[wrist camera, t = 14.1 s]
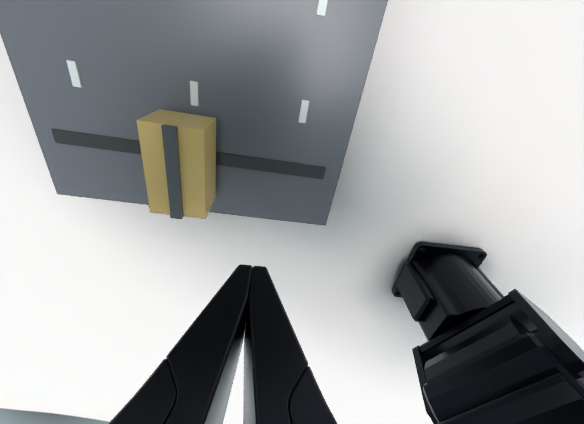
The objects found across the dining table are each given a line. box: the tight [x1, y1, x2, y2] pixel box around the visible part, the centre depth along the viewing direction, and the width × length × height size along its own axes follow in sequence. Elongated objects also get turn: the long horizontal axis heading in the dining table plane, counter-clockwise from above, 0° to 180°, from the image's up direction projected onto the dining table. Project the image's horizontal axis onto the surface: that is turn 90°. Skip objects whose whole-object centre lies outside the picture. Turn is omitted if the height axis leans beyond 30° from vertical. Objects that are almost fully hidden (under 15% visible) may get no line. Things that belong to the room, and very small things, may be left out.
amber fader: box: [136, 109, 216, 219], centre depth 14 cm, size 3×5×3 cm, turn 171°
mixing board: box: [0, 0, 388, 225], centre depth 14 cm, size 18×20×2 cm
